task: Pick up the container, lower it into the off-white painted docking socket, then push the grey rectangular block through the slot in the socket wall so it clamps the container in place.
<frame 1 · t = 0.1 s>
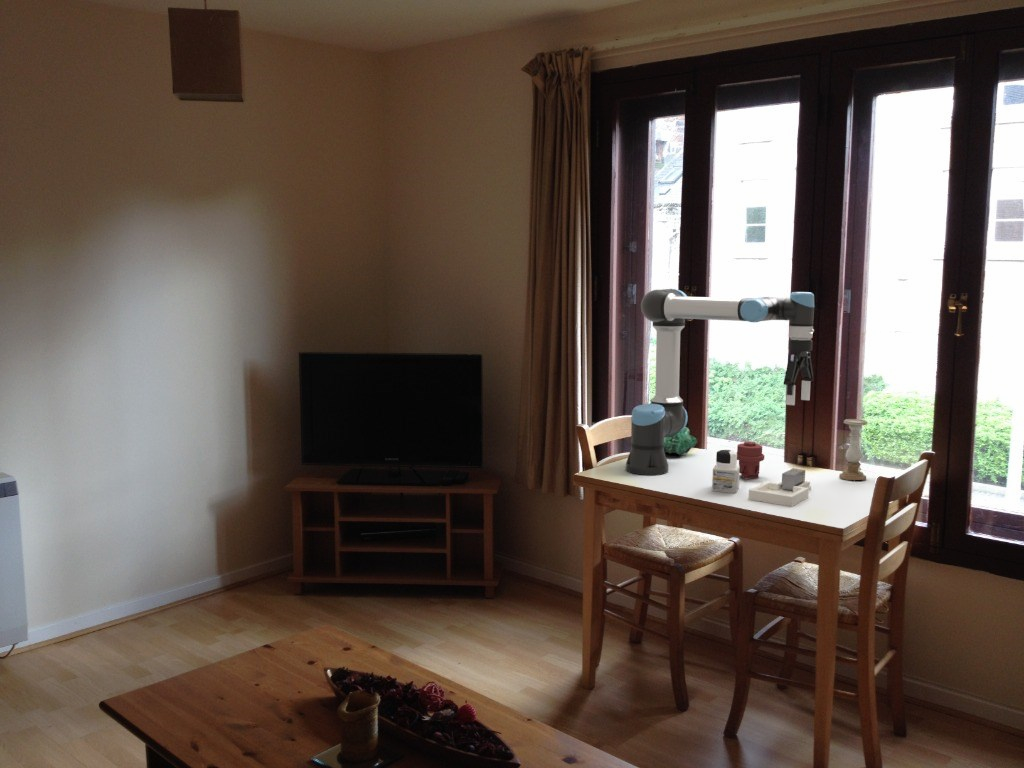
hand: (797, 402, 296), 28 cm above the table, fingers open, 13 cm apart
grey rectangular block: (793, 479, 290), point 4 cm above the table, slide at 0.0 cm
mechanical component: (748, 477, 309), on the table
candle holder: (852, 478, 308), on the table
mineral: (676, 454, 347), on the table
dock socket: (778, 498, 281), on the table
container: (725, 490, 292), on the table
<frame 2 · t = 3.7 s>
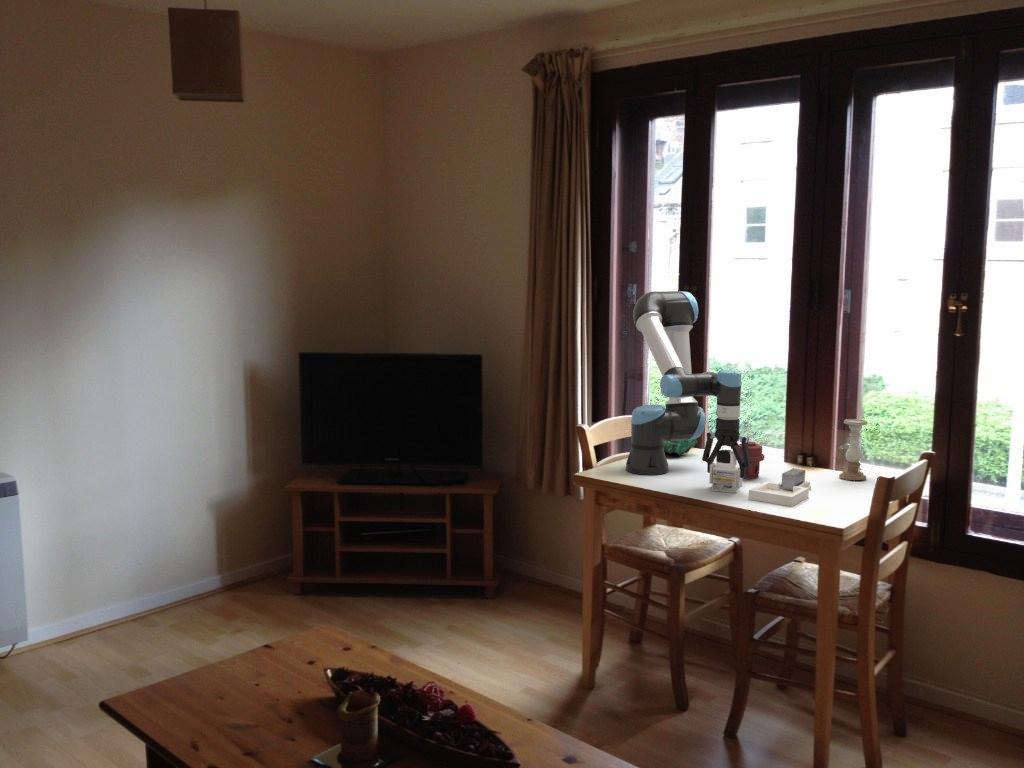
hand: (725, 485, 292), 1 cm above the table, fingers closed on container, 9 cm apart
container: (725, 490, 292), on the table, touching gripper
everything else where it was.
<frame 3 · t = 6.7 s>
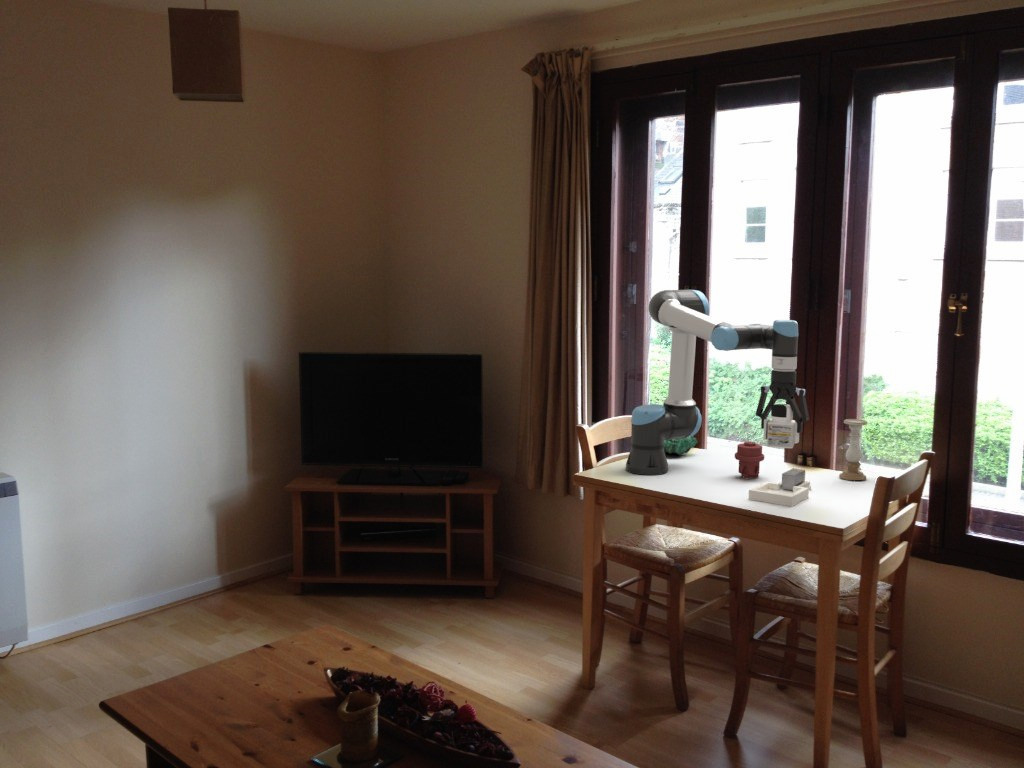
hand: (780, 440, 279), 19 cm above the table, fingers closed on container, 9 cm apart
container: (780, 446, 279), point 17 cm above the table, touching gripper
everything else where it was.
when the fingers open (4 cm above the table, at t = 9.7 s): container drops 1 cm, resting on dock socket.
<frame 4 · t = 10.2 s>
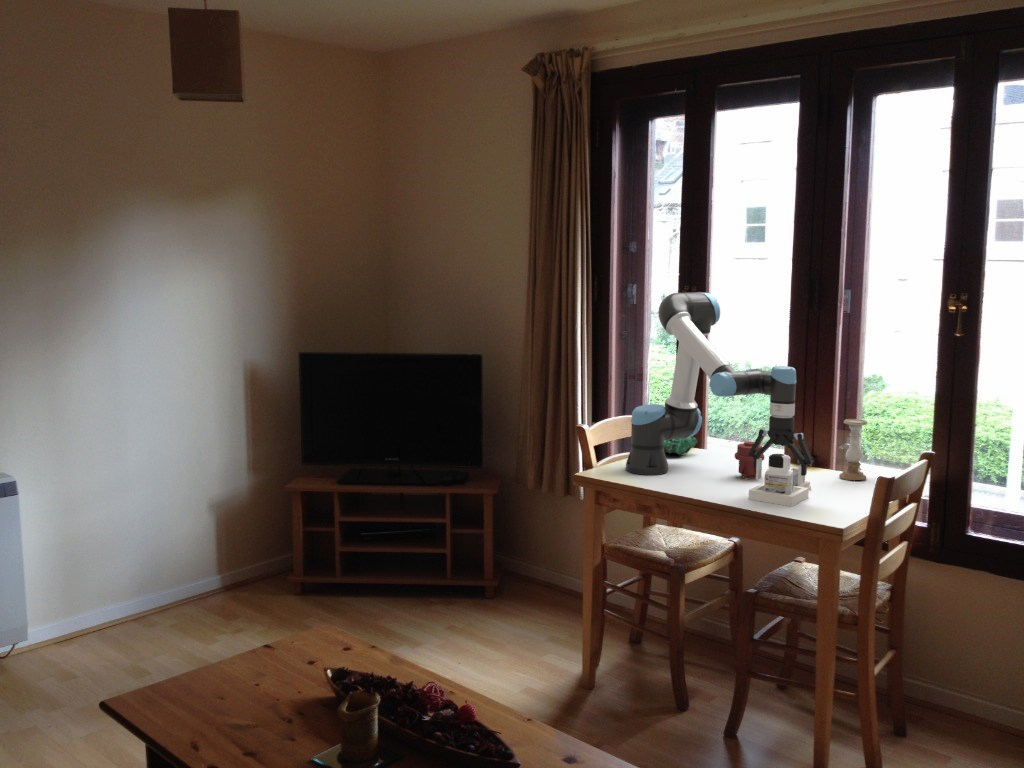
hand: (779, 482, 280), 5 cm above the table, fingers open, 13 cm apart
container: (778, 495, 281), point 1 cm above the table, touching dock socket
everything else where it was.
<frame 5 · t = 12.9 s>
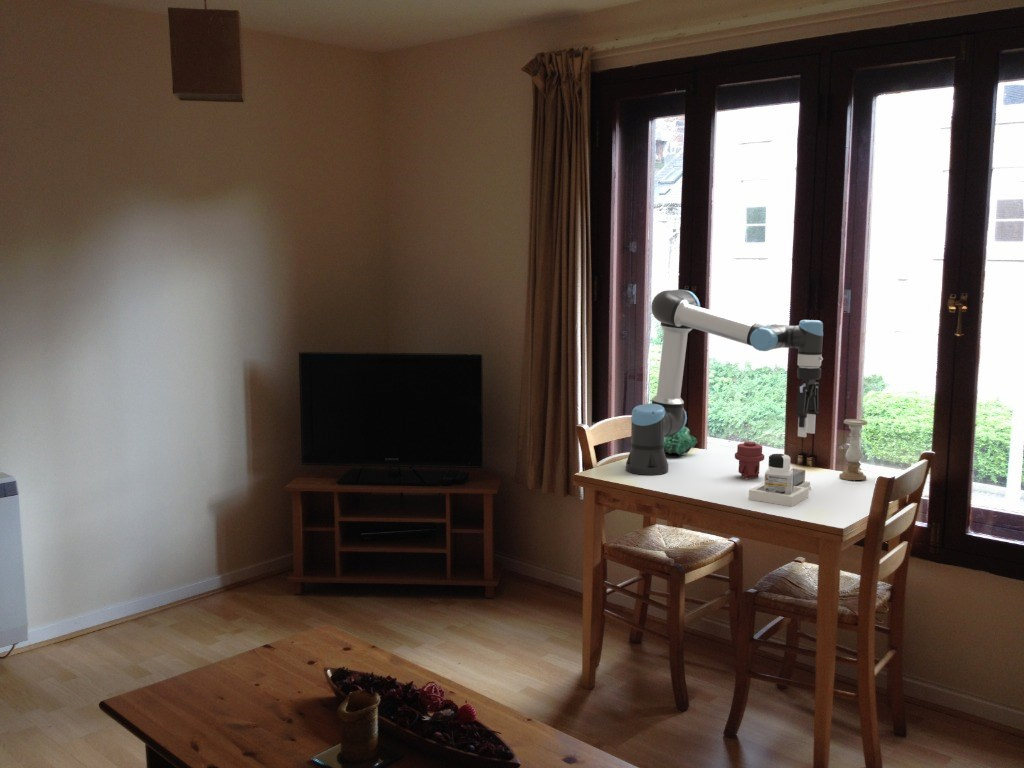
hand: (806, 434, 296), 17 cm above the table, fingers open, 7 cm apart
nothing on the table moved.
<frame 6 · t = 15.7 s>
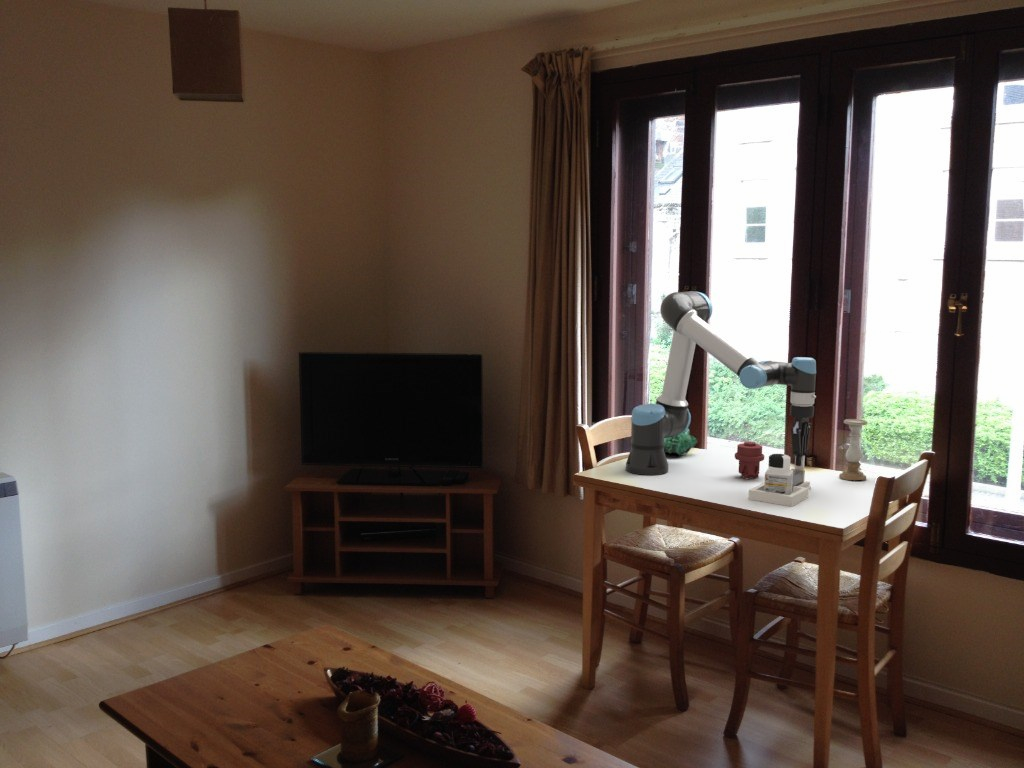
hand: (799, 474, 294), 4 cm above the table, fingers closed
grey rectangular block: (792, 479, 290), point 4 cm above the table, slide at 0.6 cm, touching gripper
everything else where it was.
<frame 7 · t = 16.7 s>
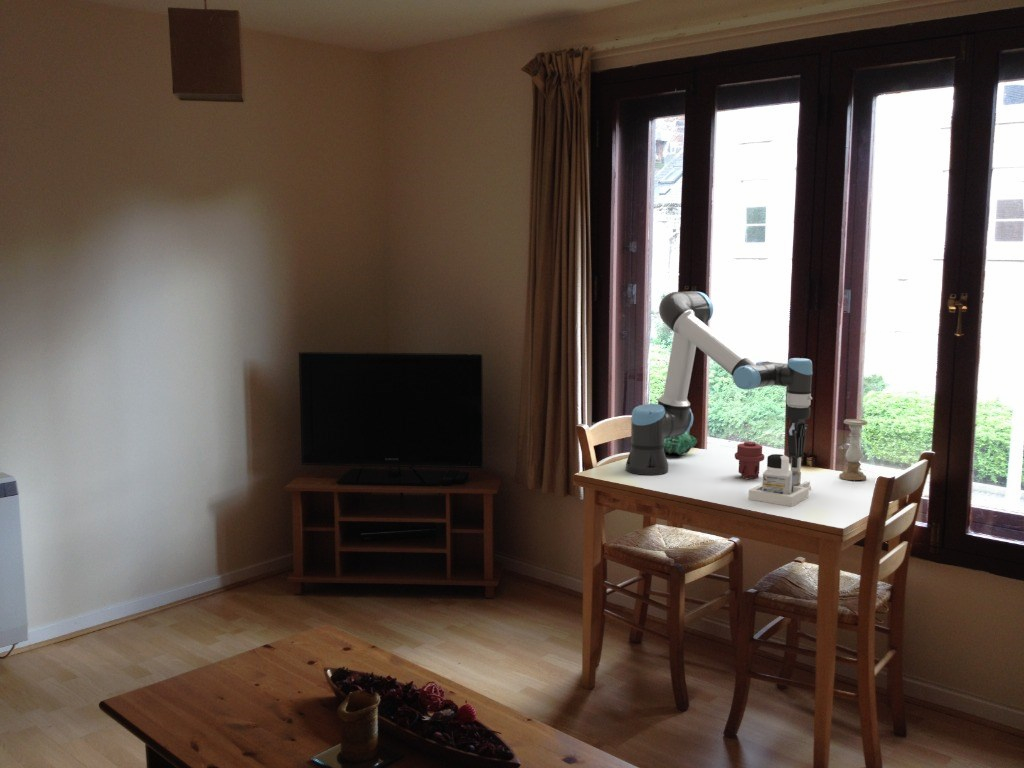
hand: (795, 476, 292), 4 cm above the table, fingers closed
grey rectangular block: (788, 481, 287), point 4 cm above the table, slide at 4.1 cm, touching container, gripper
container: (776, 496, 280), point 1 cm above the table, touching dock socket, grey rectangular block
everything else where it was.
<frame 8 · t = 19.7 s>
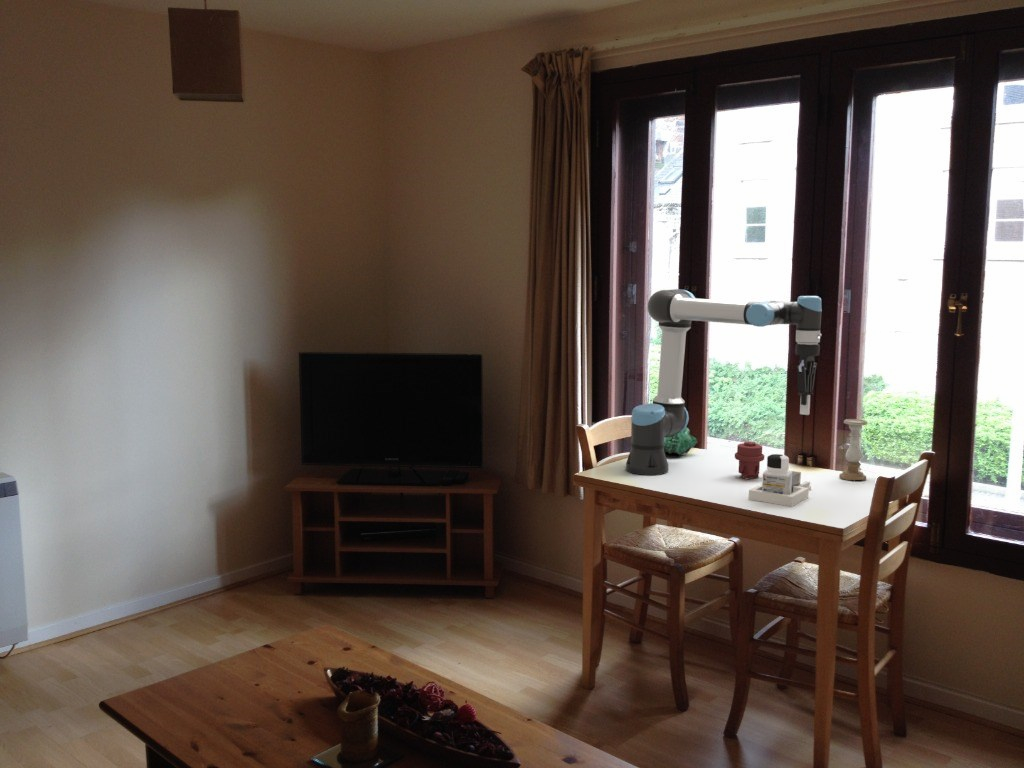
hand: (804, 414, 294), 24 cm above the table, fingers closed
grey rectangular block: (788, 481, 287), point 4 cm above the table, slide at 4.2 cm
container: (776, 496, 280), point 1 cm above the table, touching dock socket
everything else where it was.
at the end: container inside the target area on the dock socket (1.0 cm from its centre), point 0.8 cm above the dock socket's base; container tilted 0°; grey rectangular block slide at 4.2 cm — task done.
